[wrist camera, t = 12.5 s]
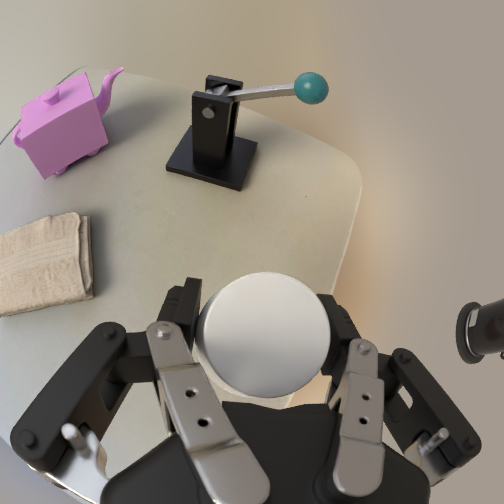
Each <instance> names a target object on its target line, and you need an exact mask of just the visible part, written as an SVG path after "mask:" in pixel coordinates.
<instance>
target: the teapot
mask: <svg viewBox="0 0 504 504" xmlns="http://www.w3.org/2000/svg"><path fill="white" fill-rule="evenodd" d="M122 70H124V67H121V68H118V69H115V70H113V71H111V72H110V73H109V74H107V76H106V77H105V79H104V81H103V85H102V90H101V93H100V94H99V96H98V97H97V98H96V99H95V98H94V95H93V93H92V90H91V87H90V84H89V81H88V78H87V75H86V72H84V73H82V74H79V75H77V76H75V77H73V78H71V79H69V80H67V81H65V82H63V83H61V84H59V85H57V86H55V87H53V88H52V89H50V90H48V91H47V92H45V93H43V94H41V95H39V96H38V97H36V98H35V99H33V100H31V101H30V102H29V103H27V104H25V105H24V106H22V112H21V122H20V123H19V124H18V125H17V126H16V128H15V129H14V132H13V137H12V138H13V143H14V144H15V145H16V146H17V147H19V148H22V149H24V150H25V151H26V153H27V154H28V156H29V158H30V159H31V160H32V162H33V163H34V165H35V166H36V168H37V169H38V171H39V172H40V174H41V175H42V176H43V178H44V179H46V178H48V177H49V176H51V175H52V174H54V173H56V174H61V173H63V172H64V171H65V170H66V169H67V166H68V165H69V164H71V163H72V162H74V161H76V160H78V159H79V158H81V157H83V156H85V155H88V156H93V155H95V154H97V153H98V151H99V150H100V147H102V146H104V145H106V144H108V143H109V142H108V139H107V136H106V133H105V130H104V127H103V124H102V121H101V117H102V116H103V115H104V114H105V112H106V111H107V109H108V107H109V104H110V99H111V89H112V84H113V81H114V79H115V78H116V76H117V75H118V74H119V73H120V72H121V71H122ZM19 131H20V139H19V138H18V137H17V134H18V132H19Z"/></svg>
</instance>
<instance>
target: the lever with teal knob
mask: <svg viewBox="0 0 504 504" xmlns="http://www.w3.org/2000/svg"><path fill="white" fill-rule="evenodd" d="M328 91H329V88H328V84H327V82H326V80H325V79H324V78H323V77H322V76H321V75H319V74H316V73H313V72H307V73H303V74H301V75H300V76H299V77H298V78H297V79H296V80H295V83H294V84H282V85H273V86H264V87H257V88H250V89H243V90H237V91H231V92H230V90H229V88H228V86H227V85H226V86H221V87H216V88H211V89H207V90H206V91H205V93H209V94H213V95H218V96H223V97H227V98H231V99H233V101H232V104H233V102H238V101H245V100H253V99H261V98H269V97H279V96H291V95H296V96H297V97H298V99H300V100H301V101H302V102H304V103H306V104H318V103H321V102H322V101H323V100H325V98H326V97H327V95H328Z"/></svg>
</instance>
